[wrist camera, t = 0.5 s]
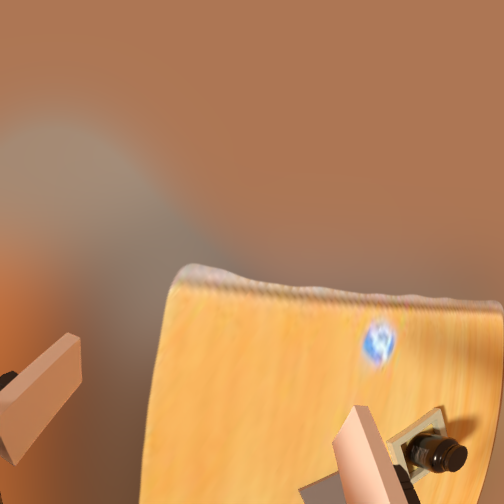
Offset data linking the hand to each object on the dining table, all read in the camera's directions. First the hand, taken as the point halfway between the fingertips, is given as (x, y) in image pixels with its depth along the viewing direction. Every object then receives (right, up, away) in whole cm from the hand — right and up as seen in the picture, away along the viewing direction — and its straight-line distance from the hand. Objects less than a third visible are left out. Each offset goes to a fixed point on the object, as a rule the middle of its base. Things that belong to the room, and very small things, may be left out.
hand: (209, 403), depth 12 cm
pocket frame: (+33, -30, +29) cm, 54 cm away
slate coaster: (+17, -36, +26) cm, 47 cm away
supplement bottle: (+33, -30, +30) cm, 54 cm away
